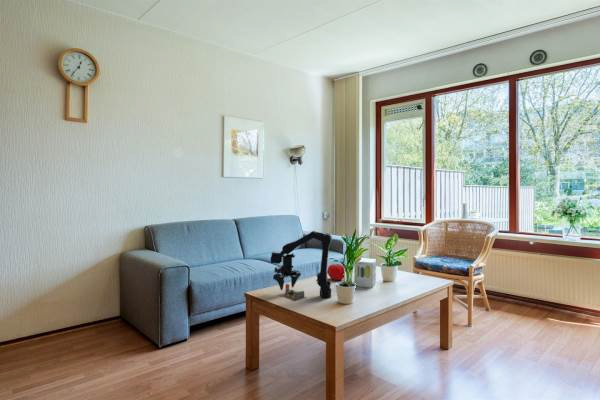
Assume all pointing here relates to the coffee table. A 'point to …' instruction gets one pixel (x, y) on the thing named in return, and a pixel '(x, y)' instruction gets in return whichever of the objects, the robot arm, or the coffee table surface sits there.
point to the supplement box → (365, 272)
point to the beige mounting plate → (297, 296)
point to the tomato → (336, 272)
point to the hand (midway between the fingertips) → (287, 288)
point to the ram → (287, 291)
